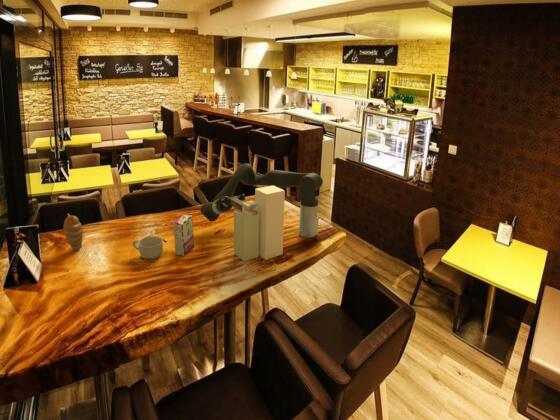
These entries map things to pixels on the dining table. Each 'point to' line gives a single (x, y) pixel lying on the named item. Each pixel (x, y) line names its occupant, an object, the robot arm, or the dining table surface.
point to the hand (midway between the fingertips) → (236, 197)
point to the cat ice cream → (73, 232)
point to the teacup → (149, 247)
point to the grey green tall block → (246, 235)
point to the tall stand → (270, 220)
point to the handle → (245, 207)
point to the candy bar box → (183, 235)
